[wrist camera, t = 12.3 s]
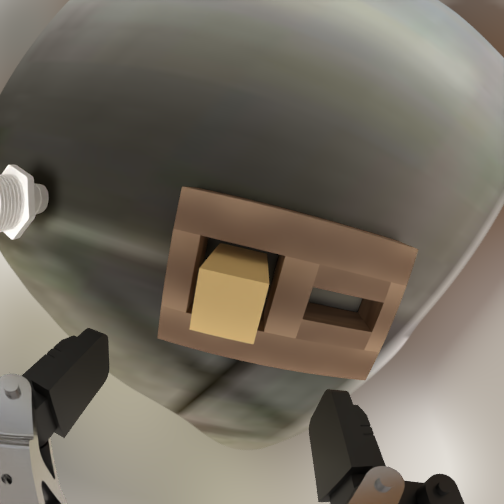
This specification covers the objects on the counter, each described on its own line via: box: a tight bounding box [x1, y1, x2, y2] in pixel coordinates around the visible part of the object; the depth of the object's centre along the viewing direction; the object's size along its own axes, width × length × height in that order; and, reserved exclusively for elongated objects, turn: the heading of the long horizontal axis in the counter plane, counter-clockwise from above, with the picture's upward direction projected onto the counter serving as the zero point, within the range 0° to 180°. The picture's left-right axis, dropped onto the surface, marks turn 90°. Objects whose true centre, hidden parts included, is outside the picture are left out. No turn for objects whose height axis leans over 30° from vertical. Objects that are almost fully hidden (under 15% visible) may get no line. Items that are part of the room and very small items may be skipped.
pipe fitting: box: [0, 165, 49, 240], centre depth 19 cm, size 6×7×8 cm
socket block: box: [158, 187, 418, 380], centre depth 22 cm, size 12×18×4 cm, turn 76°
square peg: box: [189, 243, 269, 344], centre depth 20 cm, size 4×4×8 cm
